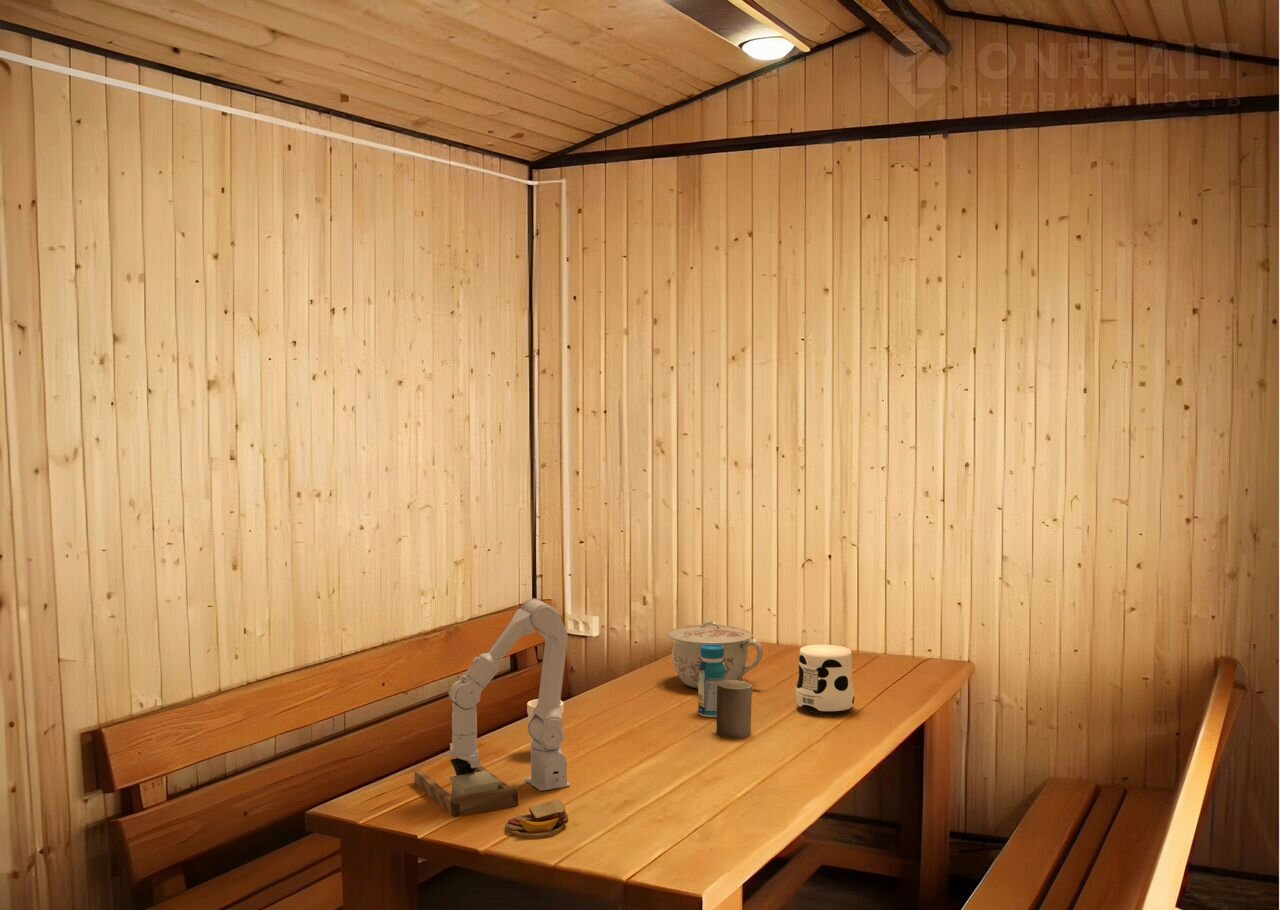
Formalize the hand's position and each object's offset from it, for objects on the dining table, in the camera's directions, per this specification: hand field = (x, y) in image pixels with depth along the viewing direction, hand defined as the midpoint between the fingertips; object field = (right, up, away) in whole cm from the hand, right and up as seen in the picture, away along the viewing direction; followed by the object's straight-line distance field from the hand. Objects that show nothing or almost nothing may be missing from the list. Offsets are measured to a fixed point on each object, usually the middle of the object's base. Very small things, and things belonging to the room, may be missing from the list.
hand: (464, 789), depth 277 cm
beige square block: (+3, -1, -5) cm, 6 cm away
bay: (0, -1, 0) cm, 1 cm away
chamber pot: (+64, +4, +103) cm, 121 cm away
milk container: (+96, +2, +75) cm, 121 cm away
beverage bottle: (+62, +2, +69) cm, 93 cm away
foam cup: (+16, 0, +32) cm, 36 cm away
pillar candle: (+67, +1, +50) cm, 84 cm away
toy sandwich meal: (+19, -3, -21) cm, 28 cm away
